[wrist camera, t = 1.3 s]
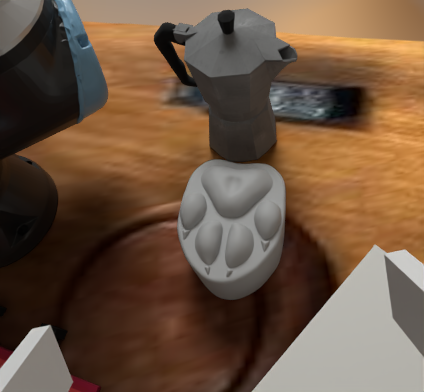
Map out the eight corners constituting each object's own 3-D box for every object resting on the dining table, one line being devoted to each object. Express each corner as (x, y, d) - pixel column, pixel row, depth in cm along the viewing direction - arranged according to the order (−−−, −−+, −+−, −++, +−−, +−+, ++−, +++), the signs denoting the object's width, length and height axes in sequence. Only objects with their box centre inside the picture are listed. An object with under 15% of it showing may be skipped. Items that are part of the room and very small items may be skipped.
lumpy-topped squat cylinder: (289, 196, 44) (291, 157, 36) (275, 308, 39) (274, 289, 31) (204, 187, 46) (189, 148, 39) (179, 291, 41) (157, 270, 33)
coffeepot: (303, 117, 49) (315, -12, 33) (278, 177, 45) (279, 66, 29) (197, 92, 53) (163, -31, 38) (168, 145, 50) (117, 34, 34)
